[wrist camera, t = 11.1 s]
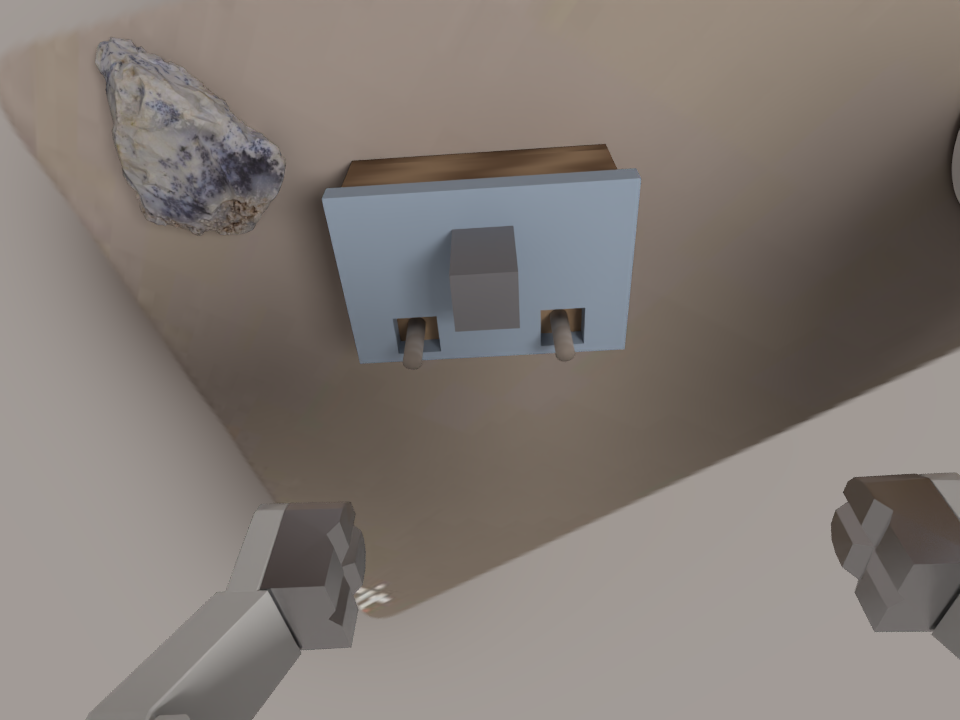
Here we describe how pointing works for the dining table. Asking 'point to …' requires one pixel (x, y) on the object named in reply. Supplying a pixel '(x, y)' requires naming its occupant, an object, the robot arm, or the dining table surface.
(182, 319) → the dining table surface
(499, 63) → the dining table surface
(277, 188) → the mineral specimen
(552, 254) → the grey peg base plate
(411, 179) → the wooden box with pegs
